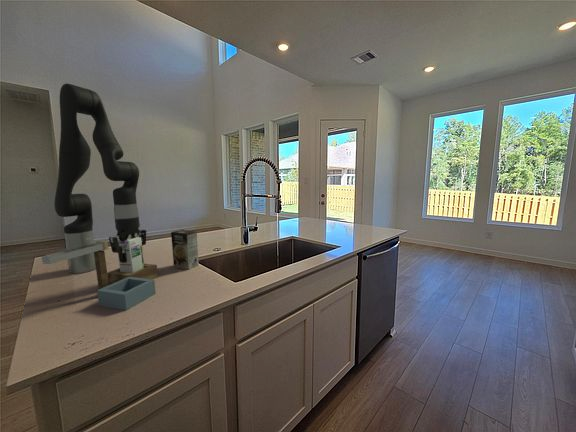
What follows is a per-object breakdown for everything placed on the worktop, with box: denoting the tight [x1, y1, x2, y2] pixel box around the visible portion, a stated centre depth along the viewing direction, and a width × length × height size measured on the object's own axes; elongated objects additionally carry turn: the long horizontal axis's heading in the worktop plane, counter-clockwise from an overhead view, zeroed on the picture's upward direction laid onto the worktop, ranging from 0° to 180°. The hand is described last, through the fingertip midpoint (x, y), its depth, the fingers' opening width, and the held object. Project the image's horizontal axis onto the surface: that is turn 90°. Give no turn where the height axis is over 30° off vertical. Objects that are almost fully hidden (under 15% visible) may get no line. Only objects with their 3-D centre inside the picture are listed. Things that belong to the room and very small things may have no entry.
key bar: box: [41, 240, 109, 265], centre depth 74 cm, size 4×16×3 cm, turn 164°
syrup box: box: [117, 236, 145, 273], centre depth 92 cm, size 6×6×14 cm
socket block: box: [94, 250, 159, 290], centre depth 89 cm, size 12×18×15 cm, turn 164°
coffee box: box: [170, 229, 199, 270], centre depth 108 cm, size 9×6×16 cm
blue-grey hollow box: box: [96, 277, 157, 311], centre depth 79 cm, size 11×11×5 cm
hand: (131, 259), depth 92 cm, fingers closed on syrup box, 6 cm apart
